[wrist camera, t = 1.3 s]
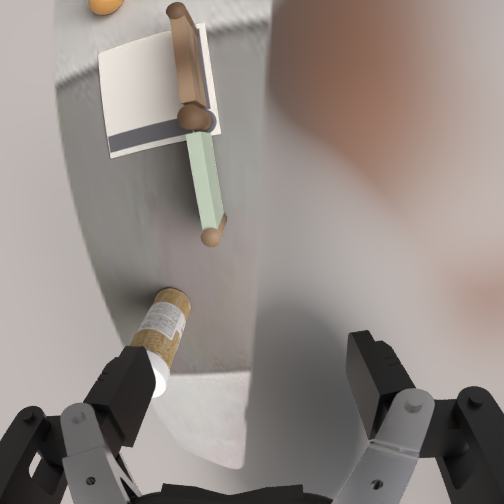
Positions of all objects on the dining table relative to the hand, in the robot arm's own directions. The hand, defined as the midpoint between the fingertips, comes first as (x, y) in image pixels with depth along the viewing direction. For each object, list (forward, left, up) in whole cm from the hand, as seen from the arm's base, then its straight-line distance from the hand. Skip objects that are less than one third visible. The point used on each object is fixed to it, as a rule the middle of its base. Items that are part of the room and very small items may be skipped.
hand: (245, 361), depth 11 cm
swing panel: (-5, 0, -21) cm, 22 cm away
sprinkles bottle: (+2, -13, -22) cm, 26 cm away
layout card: (-17, +1, -21) cm, 27 cm away
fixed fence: (-15, +5, -21) cm, 26 cm away
